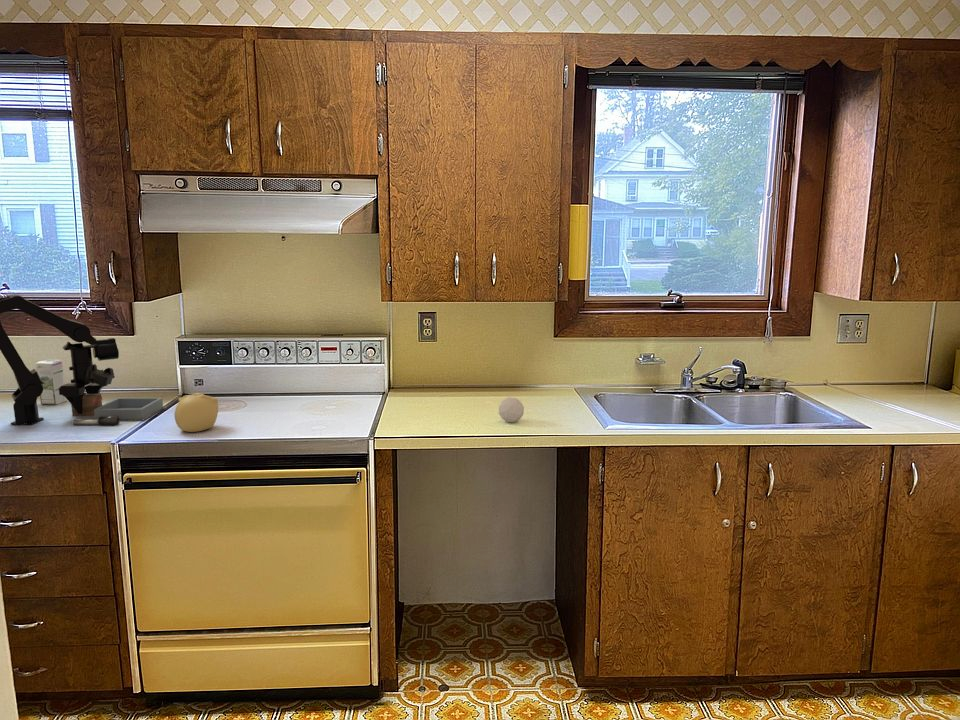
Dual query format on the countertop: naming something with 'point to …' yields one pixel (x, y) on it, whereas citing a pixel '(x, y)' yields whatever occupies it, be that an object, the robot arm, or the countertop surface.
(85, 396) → the block
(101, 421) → the pin gauge
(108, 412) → the tray
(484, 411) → the countertop surface
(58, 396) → the syrup box
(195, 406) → the sculpture
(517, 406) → the ball
